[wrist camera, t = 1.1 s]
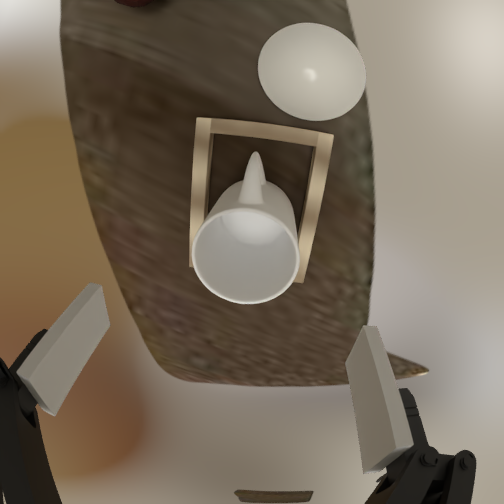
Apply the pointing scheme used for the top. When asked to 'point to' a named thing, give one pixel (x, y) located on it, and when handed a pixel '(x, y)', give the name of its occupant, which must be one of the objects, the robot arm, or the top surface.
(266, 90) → the plate
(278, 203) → the mug
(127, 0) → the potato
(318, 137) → the wooden picture frame
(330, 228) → the top surface
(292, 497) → the top surface
